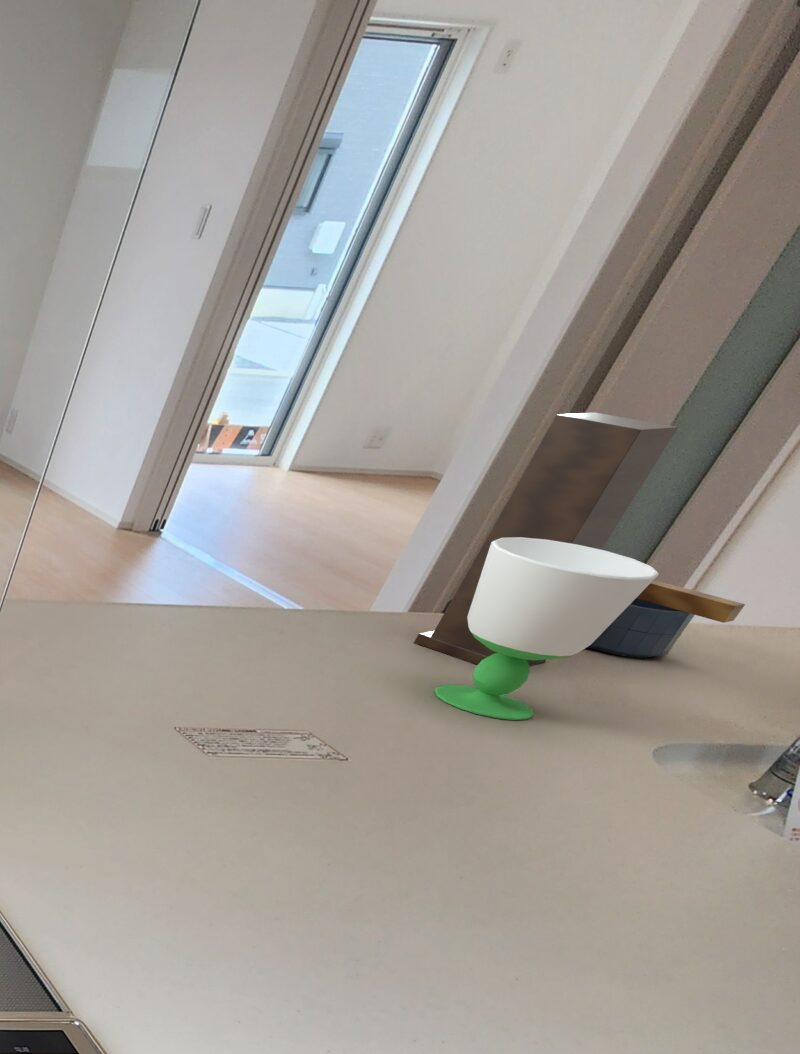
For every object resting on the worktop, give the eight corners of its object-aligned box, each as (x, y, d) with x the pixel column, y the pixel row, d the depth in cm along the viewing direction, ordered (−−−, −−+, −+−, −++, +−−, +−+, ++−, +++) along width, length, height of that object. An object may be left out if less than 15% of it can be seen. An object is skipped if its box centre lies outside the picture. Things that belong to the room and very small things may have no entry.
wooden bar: (733, 620, 130) (745, 604, 129) (723, 622, 129) (735, 606, 128) (566, 574, 143) (576, 558, 142) (556, 576, 142) (565, 560, 141)
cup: (581, 739, 113) (687, 586, 104) (432, 715, 116) (521, 564, 107) (529, 691, 124) (621, 548, 114) (393, 670, 127) (472, 529, 117)
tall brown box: (545, 662, 132) (694, 428, 117) (499, 672, 128) (647, 432, 113) (459, 634, 139) (589, 410, 124) (413, 642, 136) (541, 412, 120)
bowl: (682, 654, 138) (715, 607, 134) (637, 665, 133) (670, 616, 130) (582, 624, 146) (611, 579, 142) (536, 633, 141) (565, 587, 138)
